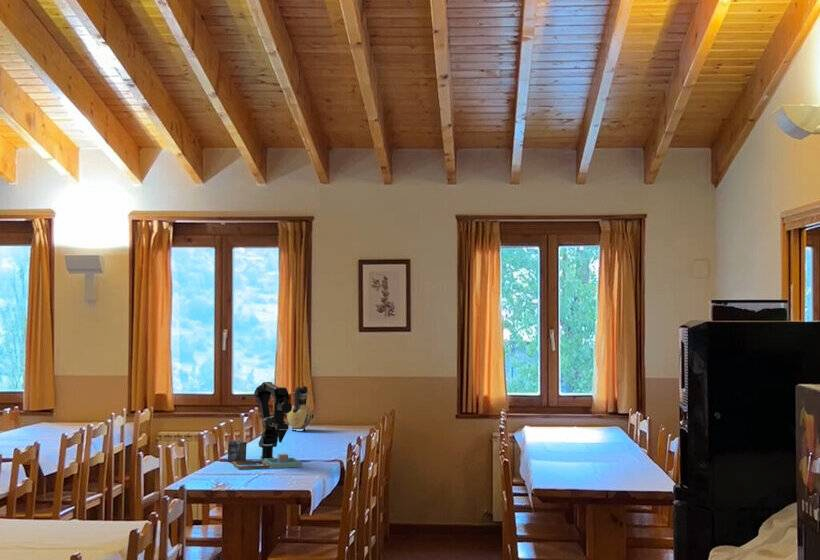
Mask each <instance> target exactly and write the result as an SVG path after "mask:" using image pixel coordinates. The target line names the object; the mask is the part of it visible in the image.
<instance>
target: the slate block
mask: <svg viewBox="0 0 820 560" xmlns="http://www.w3.org/2000/svg"><path fill="white" fill-rule="evenodd" d="M276 458H277V463H288V458H289V454H287V453H277V457H276Z"/></svg>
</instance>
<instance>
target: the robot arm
mask: <svg viewBox="0 0 820 560" xmlns="http://www.w3.org/2000/svg"><path fill="white" fill-rule="evenodd" d="M253 396H254V399H255V402H256V403H257V405H258V406H259V410H260V415H261V423H262V424H261V425H262V429H263V430H262V431H261V435H260V438H259V441H258V447H259V448H262V449H261V456H260V457H261V458H260V459H262V460H264V459H266V458H275V457H274V455H273V454H274V448H277V446H278V442H279V443H280V444H281V443H282V442H283V439H284V437H285V436H286V434H287V432H288V430H289V429H290V428H289V427H290V426H289V425H290V424H289V423H286V421H285V417H286V416H287V413H289V412H290V411H291V410H292V406H293V405H292V404H291V402H290V400H291V395H290V394H289V392H288V388H287V387H283V386H278V385H276V384H275V383H273V382H271V381H263V382H261V384H260V385H258V386H257V387H256V388H255V389H254V392H253ZM271 397H272V398H273V400H272V401H273V412H272V413H270V412H271V411H270V407H269V402H270V400H271Z"/></svg>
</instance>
